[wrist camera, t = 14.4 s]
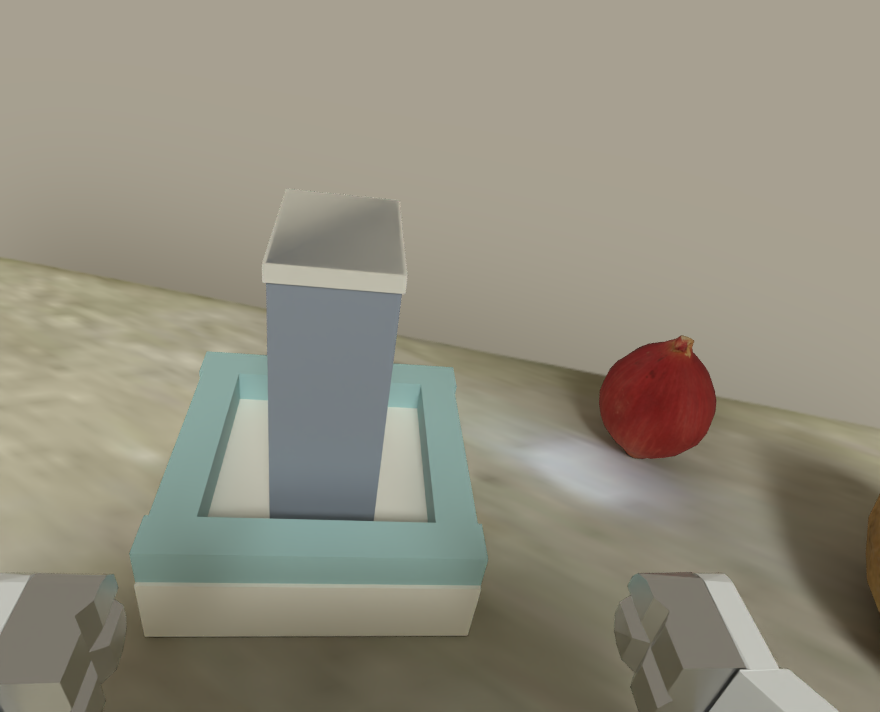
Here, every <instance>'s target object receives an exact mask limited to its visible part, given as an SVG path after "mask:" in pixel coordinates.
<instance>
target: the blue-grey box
mask: <svg viewBox="0 0 880 712" xmlns="http://www.w3.org/2000/svg"><path fill="white" fill-rule="evenodd" d="M407 278H408V275H407V265H406V256H405V246H404V236H403V227H402V217H401V208H400V201H399V200H391V199H380V198H372V197H362V196H353V195H343V194H334V193H323V192H315V191H305V190H295V189H286V190H285V193H284V197H283V200H282V203H281V206H280V209H279V212H278V215H277V219H276V222H275V225H274V228H273V231H272V234H271V237H270V240H269V243H268V247H267V250H266V253H265V256H264V259H263V262H262V282H263V283H266V291H267V292H266V294H267V295H266V296H267V369H268V441H269V514H270V519H307V520H346V521H374V514H375V506H376V498H377V490H378V482H379V474H380V466H381V458H382V450H383V442H384V434H385V425H386V417H387V409H388V401H389V393H390V385H391V377H392V369H393V361H394V353H395V345H396V336H397V328H398V320H399V312H400V304H401V296H402V294H405V293H406V285H407Z"/></svg>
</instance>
